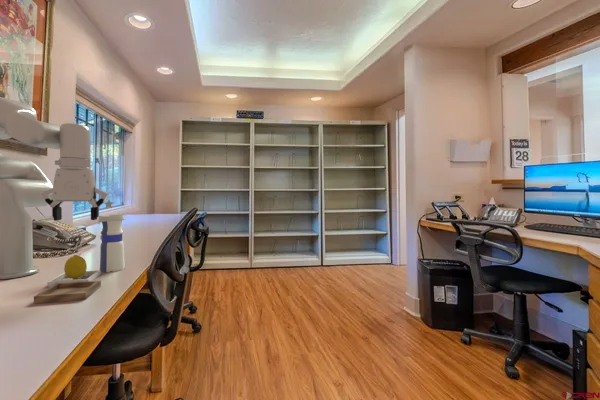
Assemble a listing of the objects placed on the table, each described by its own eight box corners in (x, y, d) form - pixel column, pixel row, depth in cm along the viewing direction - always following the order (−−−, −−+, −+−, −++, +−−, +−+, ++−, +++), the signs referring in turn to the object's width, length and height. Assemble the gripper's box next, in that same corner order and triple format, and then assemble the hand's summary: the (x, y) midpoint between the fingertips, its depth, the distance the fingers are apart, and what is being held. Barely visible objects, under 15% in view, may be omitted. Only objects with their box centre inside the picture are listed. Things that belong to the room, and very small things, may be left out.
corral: (47, 286, 85) (47, 281, 85) (64, 276, 95) (64, 272, 95) (88, 283, 88) (88, 279, 88) (100, 274, 98) (100, 270, 98)
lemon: (74, 283, 88) (74, 257, 88) (59, 282, 90) (59, 256, 89) (91, 278, 94) (90, 253, 94) (76, 277, 95) (76, 252, 95)
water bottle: (91, 271, 102) (90, 199, 101) (113, 265, 110) (113, 199, 109) (109, 273, 100) (109, 200, 99) (130, 267, 108) (130, 199, 107)
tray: (33, 303, 73) (33, 296, 73) (56, 289, 83) (56, 283, 83) (85, 299, 76) (85, 292, 76) (100, 286, 86) (100, 280, 86)
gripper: (34, 162, 84) (35, 221, 85) (103, 164, 89) (103, 220, 90) (48, 164, 92) (49, 219, 92) (111, 166, 96) (112, 218, 97)
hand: (76, 219), depth 91 cm, fingers open, 9 cm apart
